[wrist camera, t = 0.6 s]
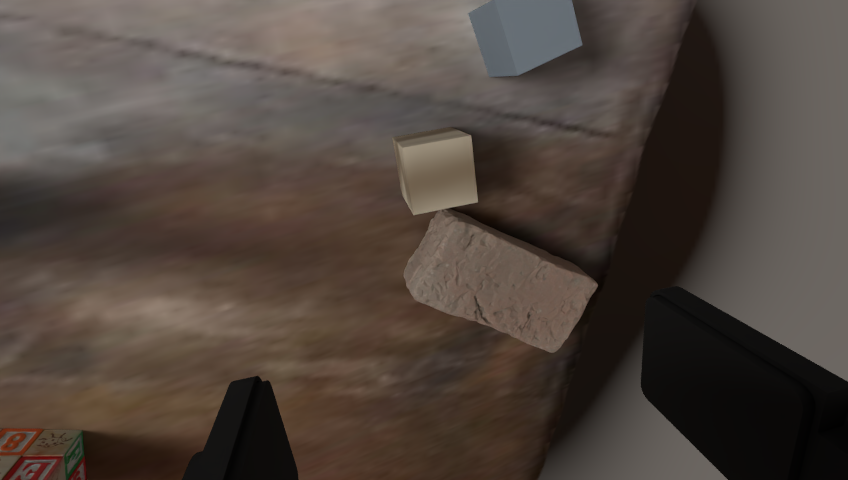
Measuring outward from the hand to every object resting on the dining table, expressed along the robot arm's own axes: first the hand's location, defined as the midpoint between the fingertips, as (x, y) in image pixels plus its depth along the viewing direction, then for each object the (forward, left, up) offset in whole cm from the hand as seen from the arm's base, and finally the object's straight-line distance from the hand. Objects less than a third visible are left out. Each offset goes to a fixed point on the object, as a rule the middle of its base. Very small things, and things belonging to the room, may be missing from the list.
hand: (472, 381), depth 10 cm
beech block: (0, +4, -28) cm, 28 cm away
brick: (+12, +9, -28) cm, 32 cm away
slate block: (-9, +12, -28) cm, 31 cm away
